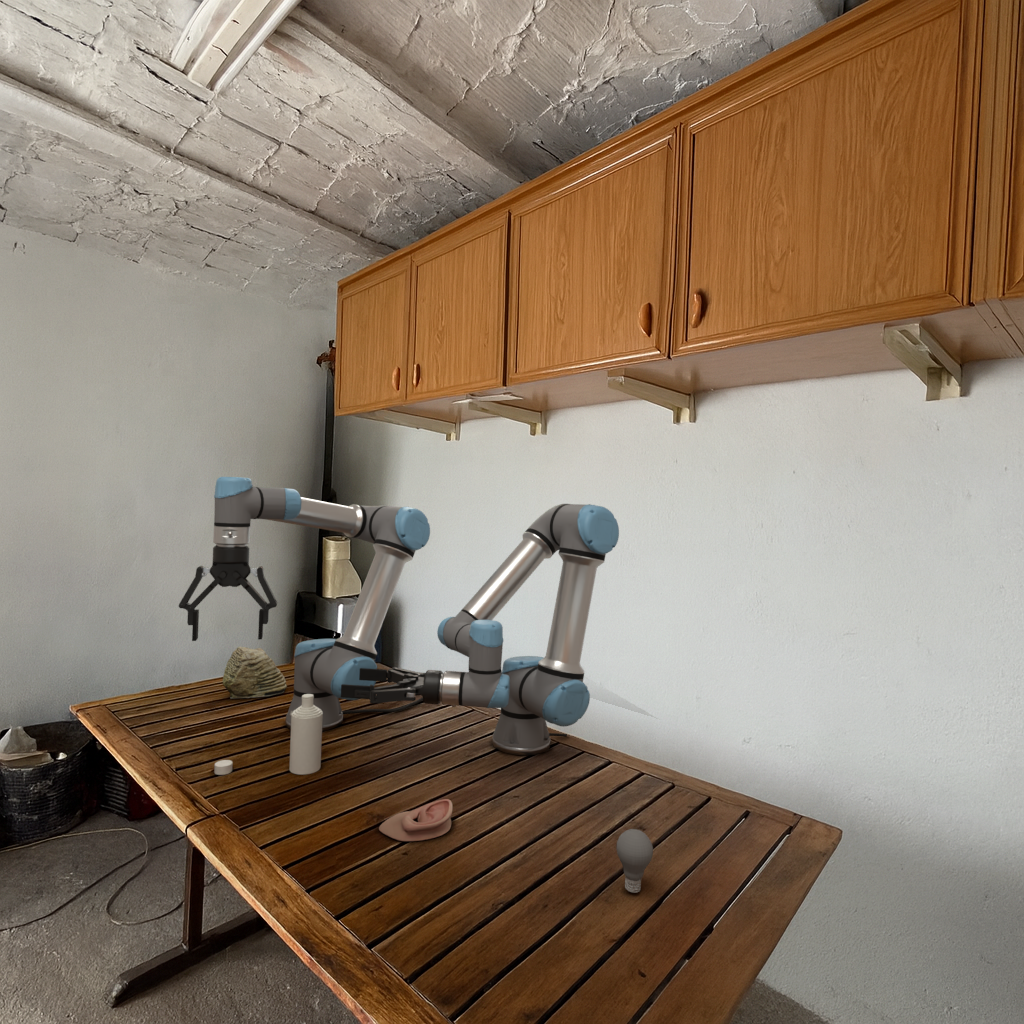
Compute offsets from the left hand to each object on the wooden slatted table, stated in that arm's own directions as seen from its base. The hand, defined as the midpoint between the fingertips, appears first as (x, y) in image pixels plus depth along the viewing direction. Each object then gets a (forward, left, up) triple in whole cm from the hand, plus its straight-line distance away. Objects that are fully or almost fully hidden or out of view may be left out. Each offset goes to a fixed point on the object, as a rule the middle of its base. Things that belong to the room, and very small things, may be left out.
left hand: (228, 639), depth 143 cm
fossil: (-33, -46, -30) cm, 64 cm away
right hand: (-19, +20, -9) cm, 29 cm away
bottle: (-14, +11, -30) cm, 35 cm away
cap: (0, 0, -29) cm, 29 cm away
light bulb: (-24, +91, -30) cm, 99 cm away
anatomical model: (-13, +50, -30) cm, 60 cm away
